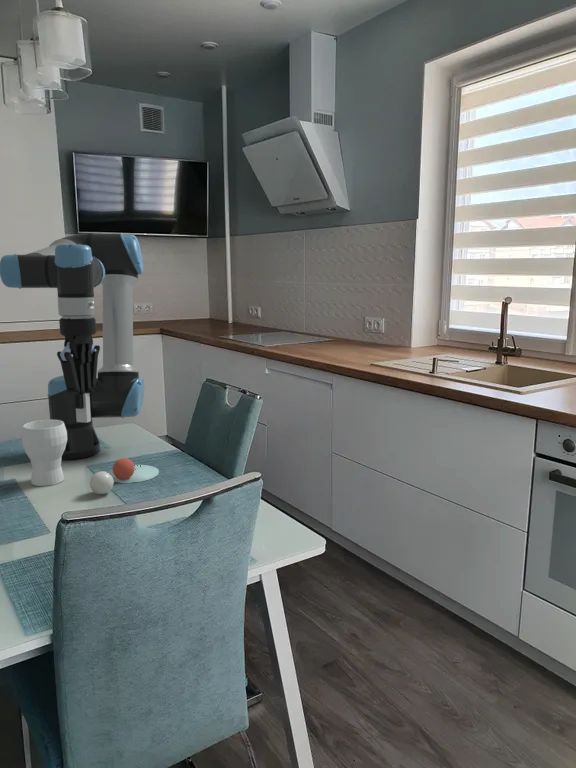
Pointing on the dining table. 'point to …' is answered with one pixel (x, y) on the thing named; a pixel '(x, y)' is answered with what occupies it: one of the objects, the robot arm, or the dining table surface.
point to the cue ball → (101, 482)
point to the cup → (45, 450)
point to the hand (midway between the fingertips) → (83, 421)
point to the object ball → (123, 468)
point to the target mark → (139, 474)
